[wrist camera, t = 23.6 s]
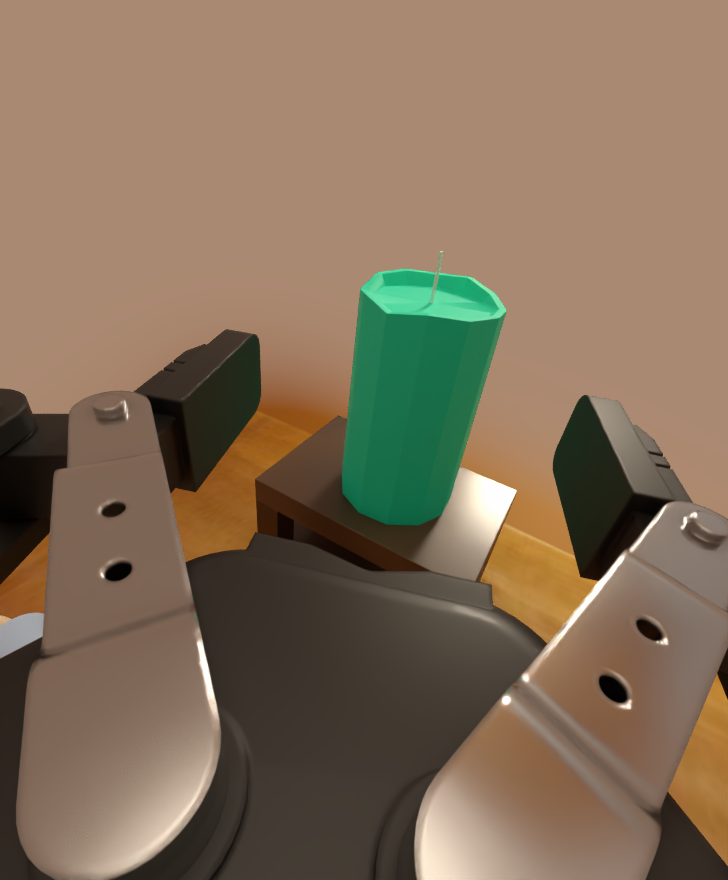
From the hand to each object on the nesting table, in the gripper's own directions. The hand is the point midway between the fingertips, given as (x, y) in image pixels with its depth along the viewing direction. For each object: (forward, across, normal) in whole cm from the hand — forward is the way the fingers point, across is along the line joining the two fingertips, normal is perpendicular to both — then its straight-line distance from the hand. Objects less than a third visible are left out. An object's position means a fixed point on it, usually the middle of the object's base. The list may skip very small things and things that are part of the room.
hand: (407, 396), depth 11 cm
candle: (+8, 0, +10) cm, 13 cm away
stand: (+8, 0, +18) cm, 20 cm away
